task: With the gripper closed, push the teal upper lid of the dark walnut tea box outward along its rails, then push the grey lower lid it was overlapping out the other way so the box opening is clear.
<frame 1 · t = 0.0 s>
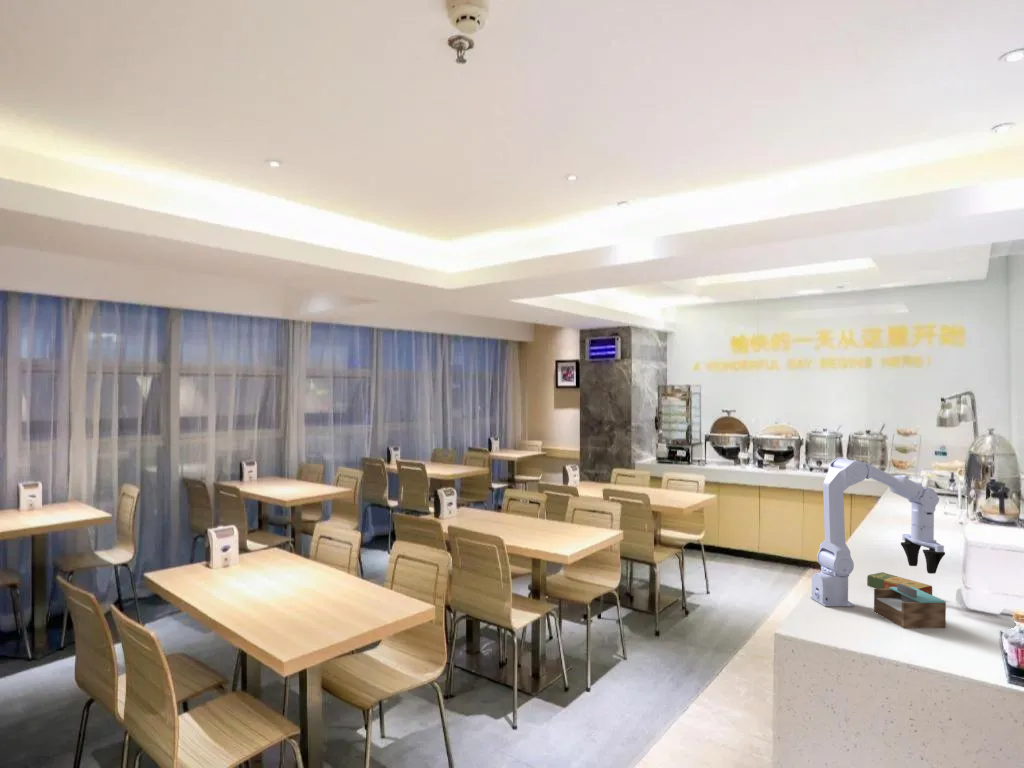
hand: (922, 569, 182), 10 cm above the countertop, tool pointing down, fingers open, 7 cm apart
upper lid: (916, 591, 167), point 8 cm above the countertop, slide at 0.0 cm
carton: (898, 593, 191), on the countertop
lower lid: (900, 601, 167), point 5 cm above the countertop, slide at 0.0 cm
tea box: (908, 619, 167), on the countertop
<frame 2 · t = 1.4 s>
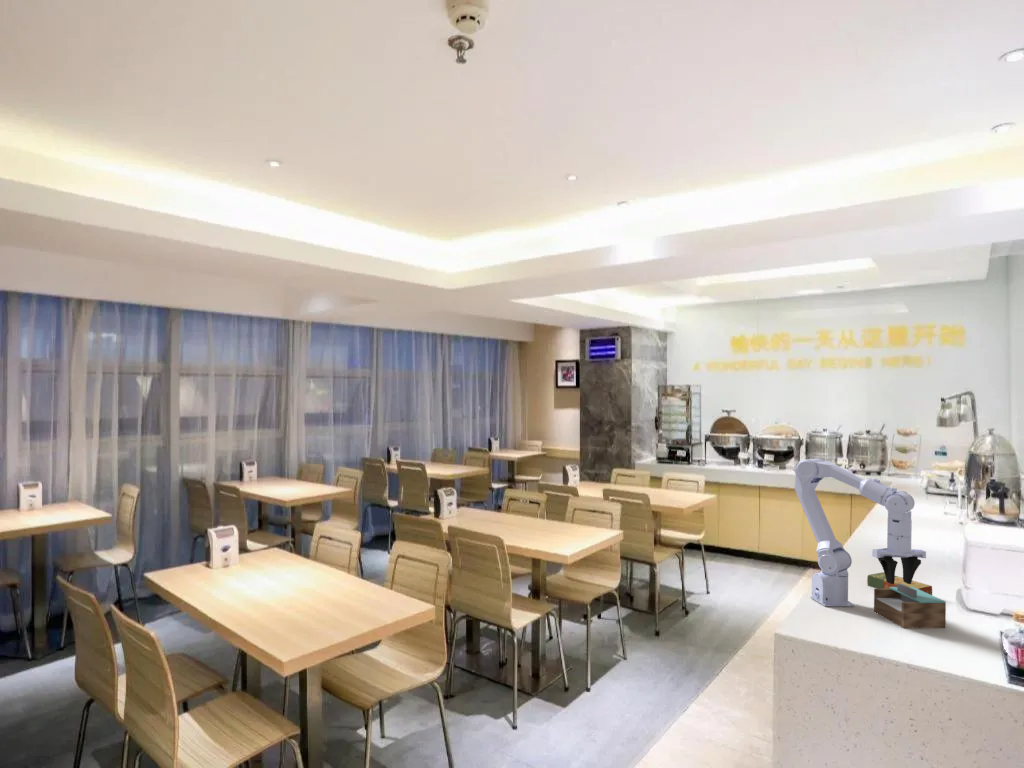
hand: (898, 582, 167), 10 cm above the countertop, tool pointing down, fingers open, 4 cm apart
nothing on the countertop moved.
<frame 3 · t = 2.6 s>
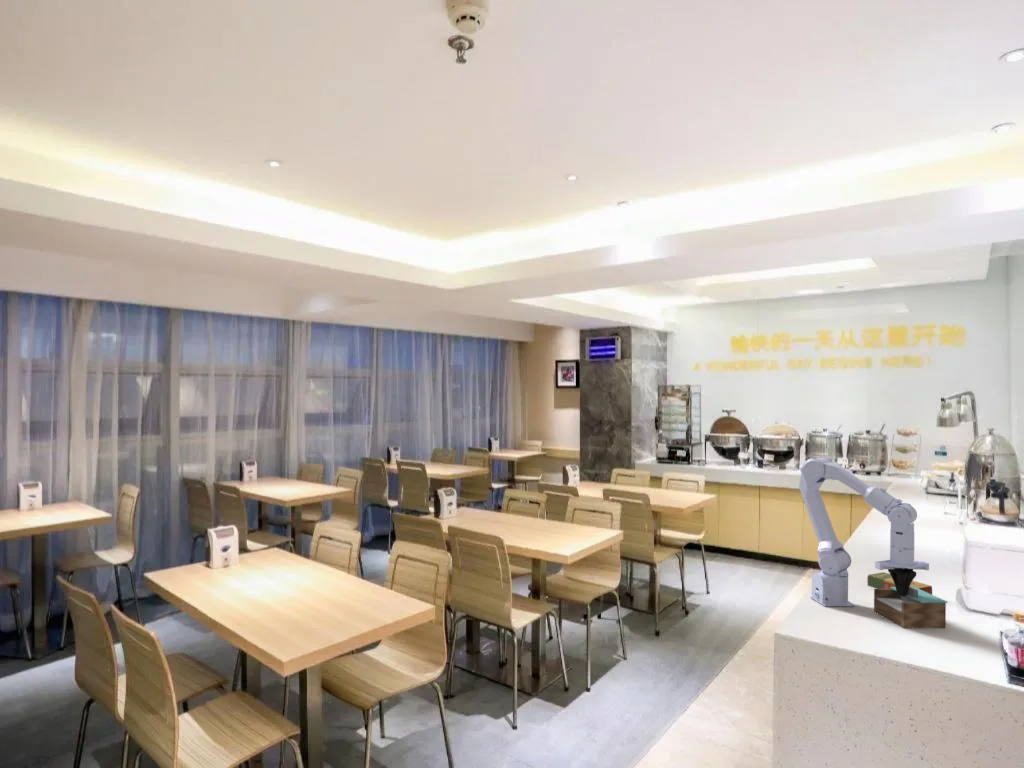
hand: (901, 594, 167), 7 cm above the countertop, tool pointing down, fingers closed
upper lid: (917, 591, 167), point 8 cm above the countertop, slide at 0.4 cm, touching gripper
everything else where it was.
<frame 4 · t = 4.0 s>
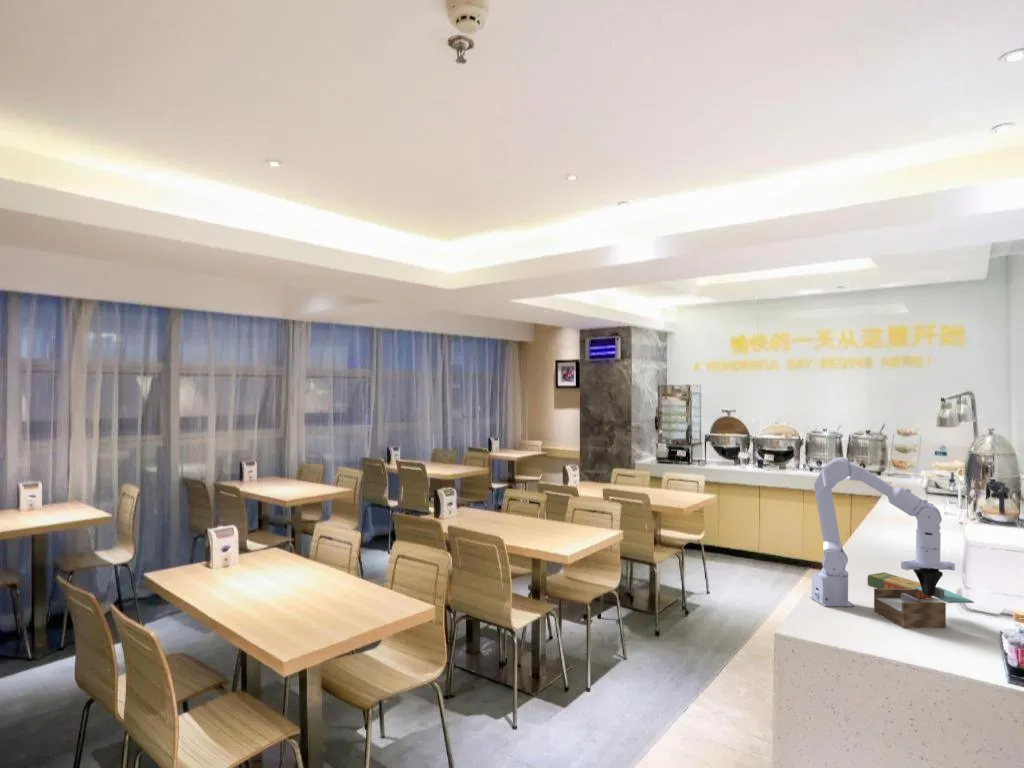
hand: (927, 595, 167), 7 cm above the countertop, tool pointing down, fingers closed
upper lid: (943, 591, 167), point 8 cm above the countertop, slide at 8.1 cm, touching gripper
everything else where it was.
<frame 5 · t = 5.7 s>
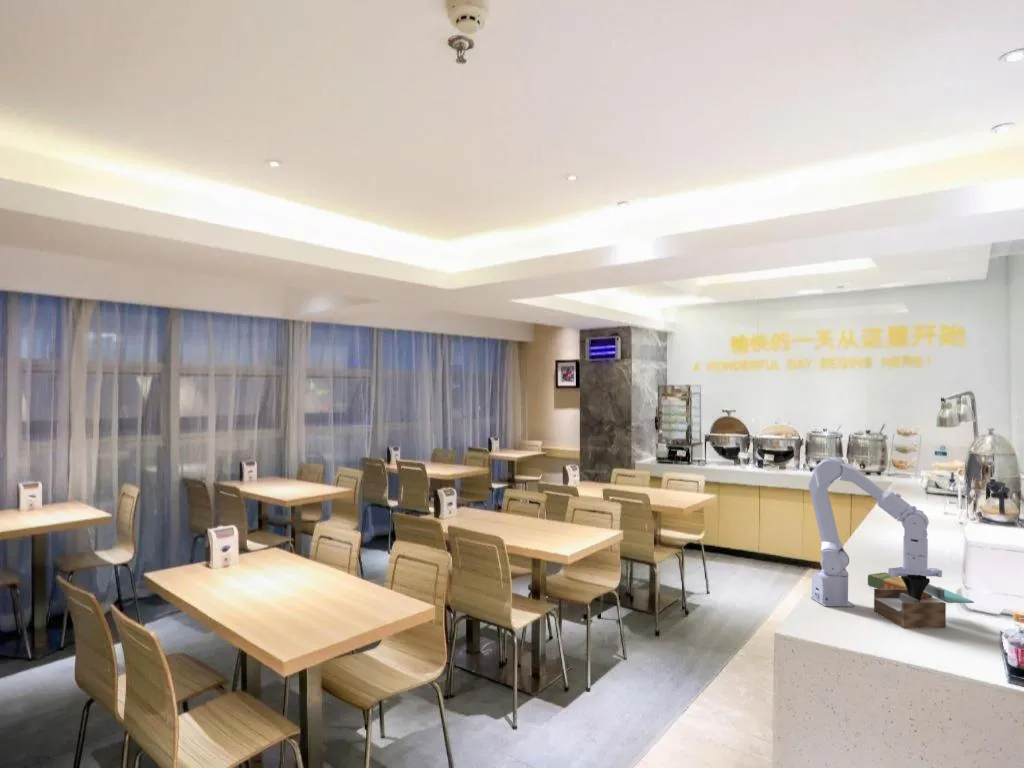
hand: (914, 601, 167), 5 cm above the countertop, tool pointing down, fingers closed
upper lid: (943, 591, 167), point 8 cm above the countertop, slide at 8.1 cm
lower lid: (899, 601, 166), point 5 cm above the countertop, slide at 0.4 cm, touching gripper
everything else where it was.
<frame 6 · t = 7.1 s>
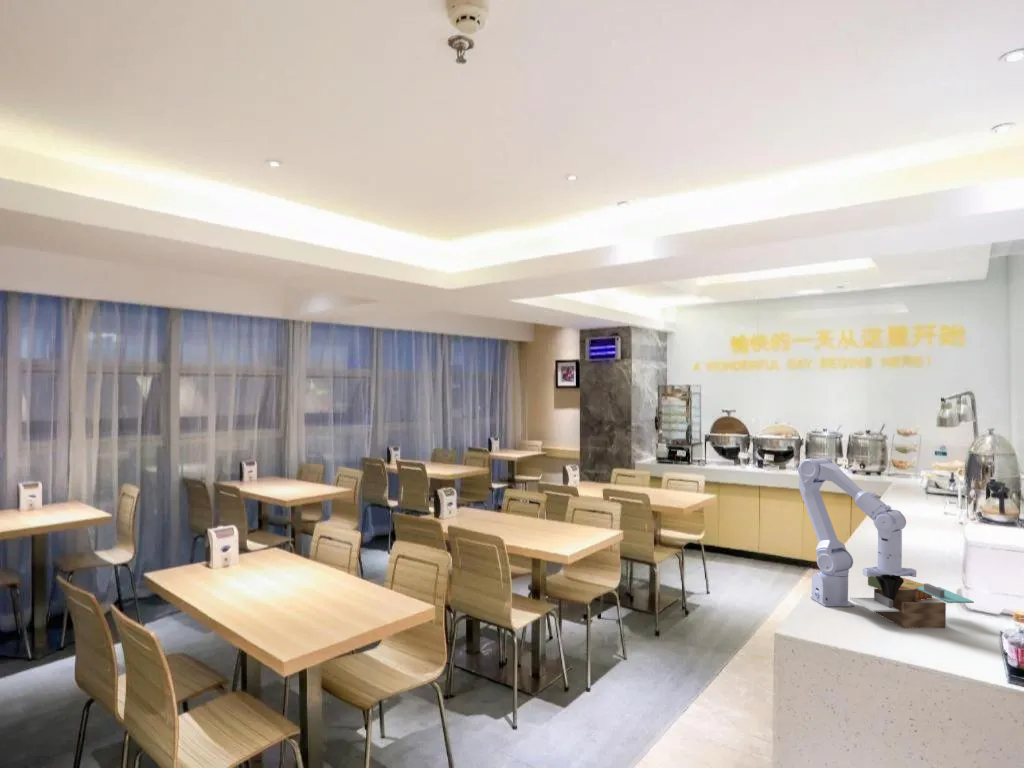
hand: (889, 601, 166), 5 cm above the countertop, tool pointing down, fingers closed
lower lid: (873, 600, 166), point 5 cm above the countertop, slide at 8.0 cm, touching gripper
everything else where it was.
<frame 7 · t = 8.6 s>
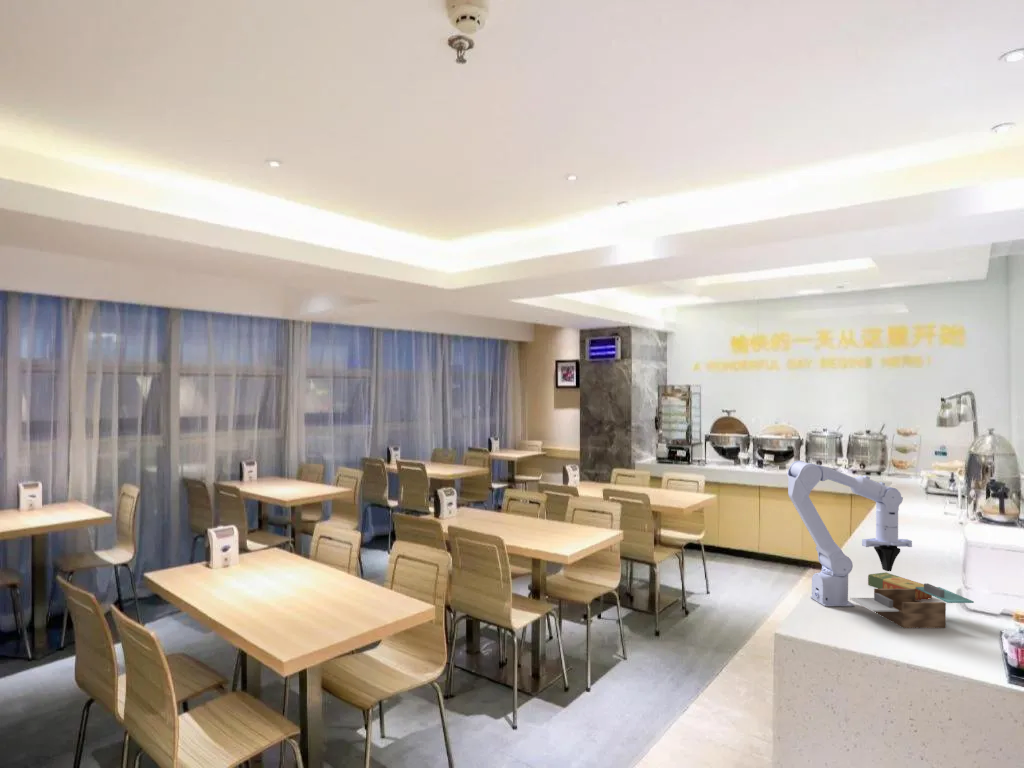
hand: (886, 570, 179), 10 cm above the countertop, tool pointing down, fingers closed
lower lid: (873, 600, 166), point 5 cm above the countertop, slide at 8.1 cm
everything else where it was.
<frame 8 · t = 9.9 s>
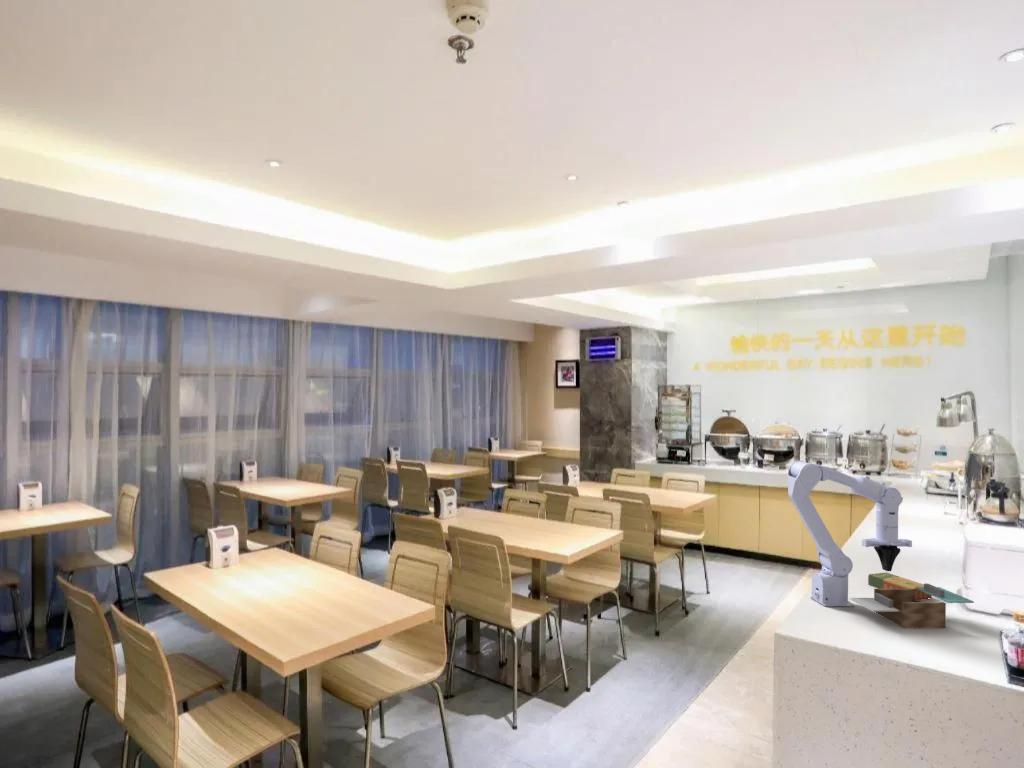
hand: (886, 570, 179), 10 cm above the countertop, tool pointing down, fingers closed
nothing on the countertop moved.
at the end: upper lid slide at 8.1 cm; lower lid slide at 8.1 cm; carton moved 0.6 cm from its start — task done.
